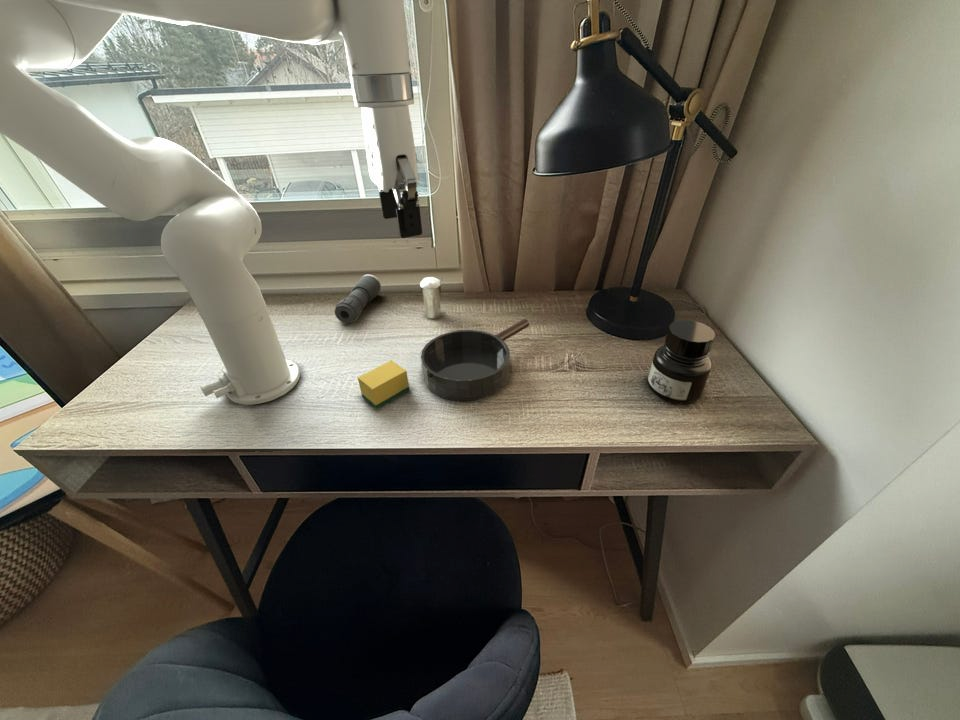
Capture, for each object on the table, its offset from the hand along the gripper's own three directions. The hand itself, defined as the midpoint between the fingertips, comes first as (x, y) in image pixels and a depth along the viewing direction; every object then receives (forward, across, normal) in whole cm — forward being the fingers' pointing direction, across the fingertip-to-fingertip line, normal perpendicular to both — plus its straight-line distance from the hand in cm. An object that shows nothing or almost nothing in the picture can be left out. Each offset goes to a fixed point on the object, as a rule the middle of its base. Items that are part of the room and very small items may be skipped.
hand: (401, 226), depth 63 cm
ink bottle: (+28, +24, +39) cm, 54 cm away
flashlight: (+28, -31, -5) cm, 42 cm away
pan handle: (+26, -1, +19) cm, 32 cm away
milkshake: (+28, -20, +10) cm, 35 cm away
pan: (+28, +4, +8) cm, 29 cm away
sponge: (+28, +3, -8) cm, 29 cm away
